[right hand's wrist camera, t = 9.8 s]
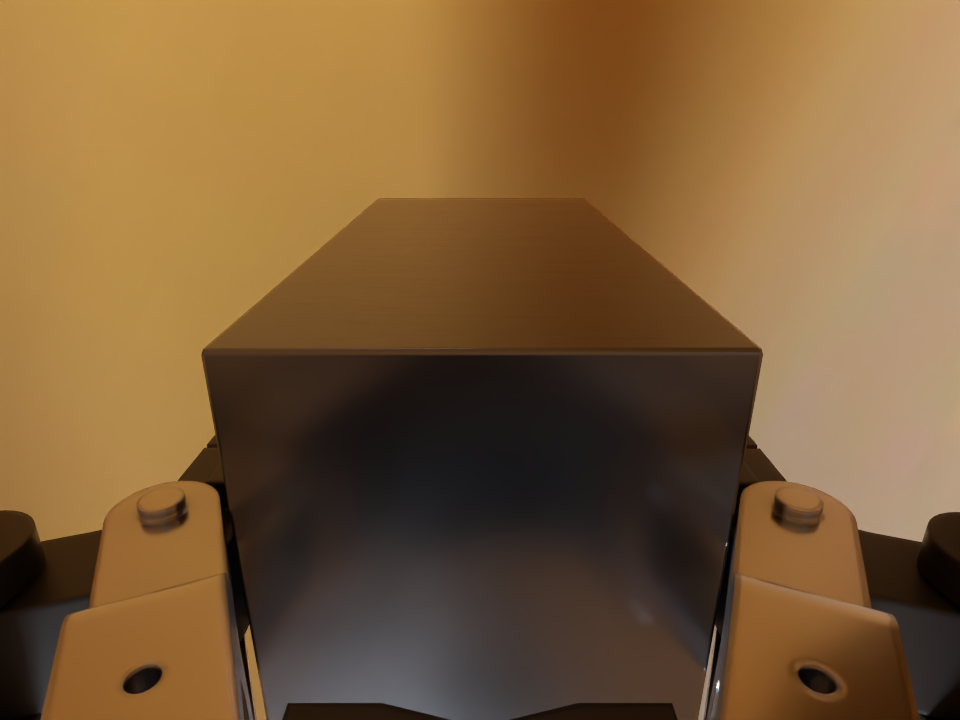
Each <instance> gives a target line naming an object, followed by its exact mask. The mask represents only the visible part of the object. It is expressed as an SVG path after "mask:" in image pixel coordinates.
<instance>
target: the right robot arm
mask: <svg viewBox="0 0 960 720" xmlns="http://www.w3.org/2000/svg"><path fill="white" fill-rule="evenodd" d="M249 624H250V623H249V618H248V612H247V607H246V601H245V596H244V590H243V584H242V579H241V573H240V568H239V562H238V556H237V551H236V545H235V540H234V534H233V529H232V523H231V517H230V512H229V506H228V501H227V495H226V489H225V484H224V478H223V473H222V467H221V462H220V456H219V450H218V445H217V439H216V435H215V436H214V437H213V438H212V439H211V441H210V442H209V443H208V444H207V448H204V449H203V450H202V452H201V453H200V454H199V455H198V457H197V458H196V459H195V460H194V461H193V463H192V464H191V465H190V466H189V468H188V469H187V470H186V471H185V472H184V474H183V475H182V476H181V477H180V479H179V480H178V481H175V482H168V483H163V484H159V485H155V486H152V487H149V488H145V489H143V490H141V491H138V492H136V493H134V494H132V495H130V496H128V497H126V498H125V499H123V500H122V501H120V502H119V503H118V504H116V505H115V506H114V507H113V508H112V509H111V510H110V511H109V512H108V514H107V515H106V517H105V520H104V523H103V528H102V530H99V531H94V532H90V533H84V534H79V535H74V536H68V537H63V538H58V539H52V540H47V541H42V542H41V541H40V538H39V535H38V532H37V529H36V525H35V522H34V520H33V519H32V517H30V516H29V515H28V514H25V513H23V512H18V511H7V510H5V511H0V720H256V712H255V705H254V697H253V690H252V682H251V674H250V667H249V659H248V652H247V646H246V641H245V633H246V631H247V628H248V626H249ZM715 625H716V628H717V630H716V635H715V641H714V646H713V652H712V659H711V667H710V675H709V682H708V690H707V697H706V705H705V712H704V720H960V512H950V513H943V514H939V515H937V516H934V517H933V518H932V519H930V521H929V523H928V526H927V529H926V532H925V535H924V538H923V541H922V542H917V541H912V540H907V539H901V538H896V537H891V536H885V535H880V534H875V533H870V532H866V531H861V530H858V528H857V522H856V520H855V517H854V515H853V514H852V512H851V511H850V510H849V509H848V508H847V507H846V506H845V505H844V504H842V503H841V502H840V501H838V500H837V499H835V498H834V497H832V496H830V495H828V494H826V493H824V492H822V491H819V490H817V489H815V488H811V487H808V486H805V485H801V484H797V483H792V482H787V481H786V480H785V479H784V477H783V476H782V475H781V474H780V473H779V471H778V470H777V469H776V468H775V466H774V465H773V464H772V463H771V462H770V460H769V459H768V458H767V457H766V456H765V454H764V453H763V452H762V451H761V450H760V449H757V445H756V444H755V442H754V441H753V440H752V439H751V438H750V436H748V441H747V446H746V452H745V457H744V463H743V469H742V474H741V480H740V485H739V491H738V497H737V502H736V508H735V513H734V519H733V525H732V530H731V536H730V541H729V547H728V553H727V558H726V564H725V569H724V575H723V581H722V586H721V592H720V598H719V603H718V609H717V614H716V620H715ZM282 720H450V719H446V718H442V717H437V716H433V715H429V714H425V713H421V712H417V711H413V710H409V709H405V708H401V707H397V706H393V705H389V704H384V703H288V704H287V707H286V710H285V713H284V716H283V719H282ZM510 720H678V719H677V716H676V713H675V710H674V707H673V704H672V703H576V704H571V705H567V706H563V707H559V708H555V709H551V710H547V711H543V712H539V713H535V714H531V715H527V716H523V717H518V718H514V719H510Z"/></svg>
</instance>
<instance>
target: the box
mask: <svg viewBox="0 0 960 720" xmlns="http://www.w3.org/2000/svg"><path fill="white" fill-rule="evenodd" d="M762 356H763V353H762V349H761V348H760V347H759V346H757V345H756V344H755V343H754V342H753V341H752V340H750V339H749V338H748V337H747V336H746V335H745V334H743V333H742V332H741V331H740V330H739V329H737V328H736V327H735V326H734V325H733V324H732V323H730V322H729V321H728V320H727V319H726V318H724V317H723V316H722V315H721V314H720V313H719V312H717V311H716V310H715V309H714V308H713V307H711V306H710V305H709V304H708V303H707V302H706V301H704V300H703V299H702V298H701V297H700V296H698V295H697V294H696V293H695V292H694V291H693V290H691V289H690V288H689V287H688V286H687V285H686V284H684V283H683V282H682V281H681V280H680V279H678V278H677V277H676V276H675V275H674V274H673V273H671V272H670V271H669V270H668V269H667V268H665V267H664V266H663V265H662V264H661V263H660V262H658V261H657V260H656V259H655V258H654V257H652V256H651V255H650V254H649V253H648V252H647V251H645V250H644V249H643V248H642V247H641V246H639V245H638V244H637V243H636V242H635V241H634V240H632V239H631V238H630V237H629V236H628V235H627V234H625V233H624V232H623V231H622V230H621V229H619V228H618V227H617V226H616V225H615V224H614V223H612V222H611V221H610V220H609V219H608V218H606V217H605V216H604V215H603V214H602V213H601V212H599V211H598V210H597V209H596V208H595V207H593V206H592V205H591V204H590V203H589V202H588V201H586V200H585V199H583V198H397V199H377V200H376V201H375V202H374V203H373V204H371V205H370V206H369V207H368V208H367V209H366V210H364V211H363V212H362V213H361V214H360V215H359V216H358V217H356V218H355V219H354V220H353V221H352V222H351V223H349V224H348V225H347V226H346V227H345V228H344V229H342V230H341V231H340V232H339V233H338V234H337V235H335V236H334V237H333V238H332V239H331V240H330V241H328V242H327V243H326V244H325V245H324V246H323V247H321V248H320V249H319V250H318V251H317V252H316V253H314V254H313V255H312V256H311V257H310V258H309V259H308V260H306V261H305V262H304V263H303V264H302V265H301V266H299V267H298V268H297V269H296V270H295V271H294V272H292V273H291V274H290V275H289V276H288V277H287V278H285V279H284V280H283V281H282V282H281V283H280V284H278V285H277V286H276V287H275V288H274V289H273V290H271V291H270V292H269V293H268V294H267V295H266V296H264V297H263V298H262V299H261V300H260V301H259V302H258V303H256V304H255V305H254V306H253V307H252V308H251V309H249V310H248V311H247V312H246V313H245V314H244V315H242V316H241V317H240V318H239V319H238V320H237V321H235V322H234V323H233V324H232V325H231V326H230V327H228V328H227V329H226V330H225V331H224V332H223V333H221V334H220V335H219V336H218V337H217V338H216V339H215V340H213V341H212V342H211V343H210V344H209V345H208V346H206V347H205V348H204V349H203V351H202V361H203V367H204V372H205V378H206V383H207V389H208V395H209V400H210V406H211V411H212V417H213V422H214V428H215V434H216V439H217V445H218V450H219V456H220V462H221V467H222V473H223V478H224V484H225V489H226V495H227V501H228V506H229V512H230V517H231V523H232V529H233V534H234V540H235V545H236V551H237V556H238V562H239V568H240V573H241V579H242V584H243V590H244V596H245V601H246V607H247V612H248V618H249V623H250V629H251V635H252V640H253V646H254V651H255V657H256V663H257V668H258V674H259V679H260V685H261V690H262V696H263V702H264V707H265V713H266V718H267V720H282V719H283V716H284V713H285V710H286V707H287V704H288V703H384V704H389V705H393V706H397V707H401V708H405V709H409V710H413V711H417V712H421V713H425V714H429V715H433V716H437V717H442V718H446V719H450V720H510V719H514V718H518V717H523V716H527V715H531V714H535V713H539V712H543V711H547V710H551V709H555V708H559V707H563V706H567V705H571V704H576V703H672V704H673V707H674V710H675V713H676V716H677V719H678V720H698V715H699V710H700V704H701V698H702V693H703V687H704V682H705V676H706V670H707V665H708V659H709V654H710V648H711V642H712V637H713V631H714V626H715V620H716V614H717V609H718V603H719V598H720V592H721V586H722V581H723V575H724V569H725V564H726V558H727V553H728V547H729V541H730V536H731V530H732V525H733V519H734V513H735V508H736V502H737V497H738V491H739V485H740V480H741V474H742V469H743V463H744V457H745V452H746V446H747V441H748V435H749V429H750V424H751V418H752V413H753V407H754V401H755V396H756V390H757V384H758V379H759V373H760V368H761V362H762Z"/></svg>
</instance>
